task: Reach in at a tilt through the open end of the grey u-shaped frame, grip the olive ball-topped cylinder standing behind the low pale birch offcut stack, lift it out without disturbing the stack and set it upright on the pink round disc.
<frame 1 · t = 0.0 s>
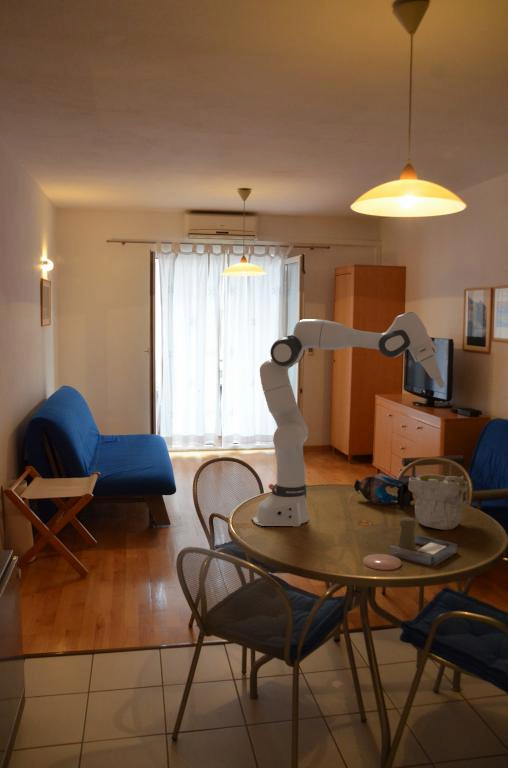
hand: (442, 386, 237), 54 cm above the table, tool tilted 30°, fingers open, 8 cm apart
offcut stack: (431, 557, 218), on the table
ceramic vessel: (440, 523, 253), on the table
grey u-shaped frame: (431, 555, 218), on the table
lantern: (382, 503, 280), on the table
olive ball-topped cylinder: (406, 550, 224), on the table
pink round disc: (382, 563, 212), on the table
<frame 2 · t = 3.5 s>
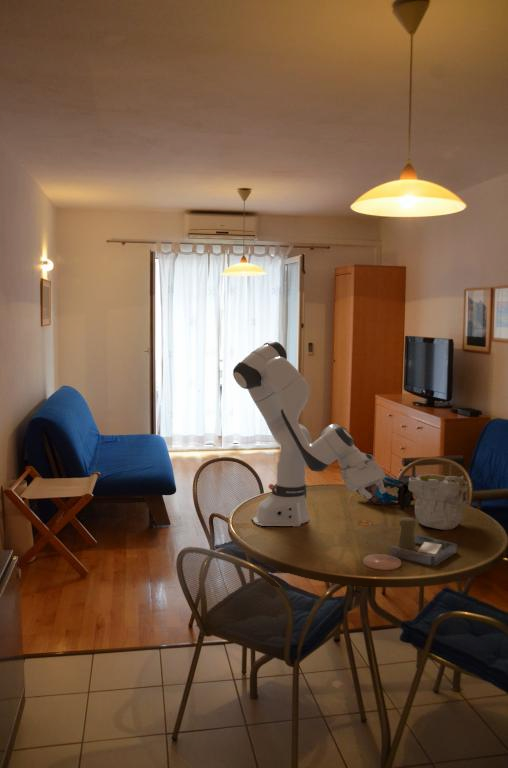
hand: (377, 495, 230), 17 cm above the table, tool tilted 45°, fingers open, 8 cm apart
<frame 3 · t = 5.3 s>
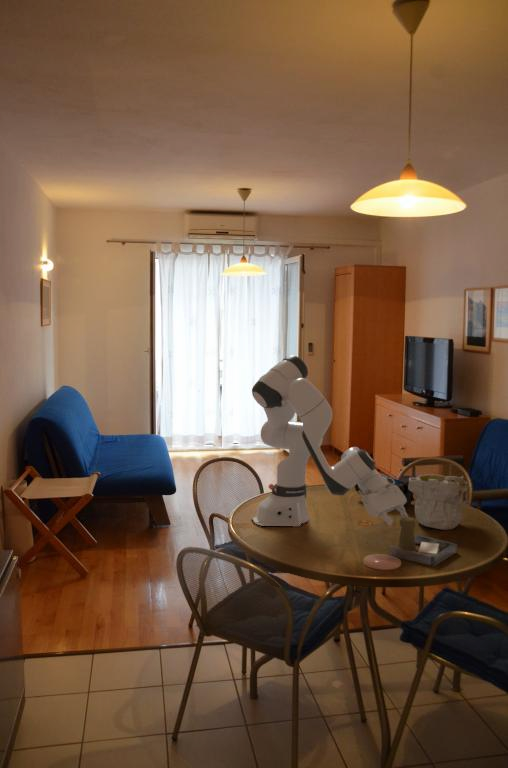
hand: (399, 520, 224), 10 cm above the table, tool tilted 45°, fingers open, 8 cm apart
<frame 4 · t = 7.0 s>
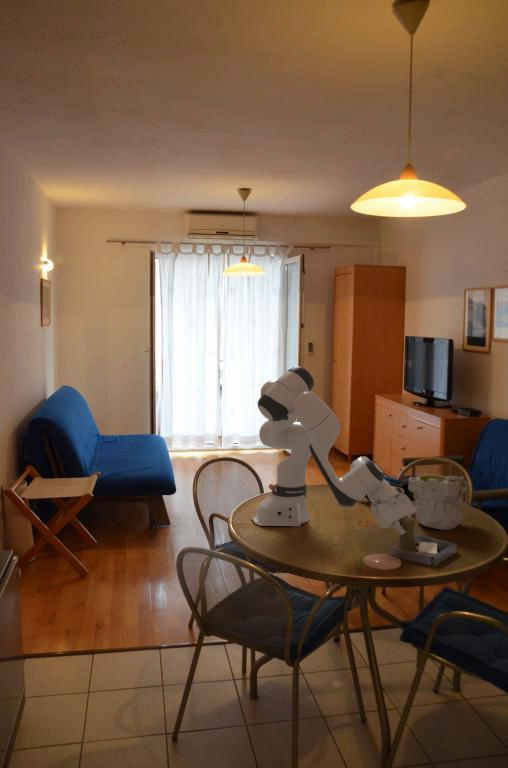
hand: (408, 531, 223), 7 cm above the table, tool tilted 45°, fingers closed on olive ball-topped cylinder, 5 cm apart
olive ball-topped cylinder: (406, 550, 224), on the table, touching gripper
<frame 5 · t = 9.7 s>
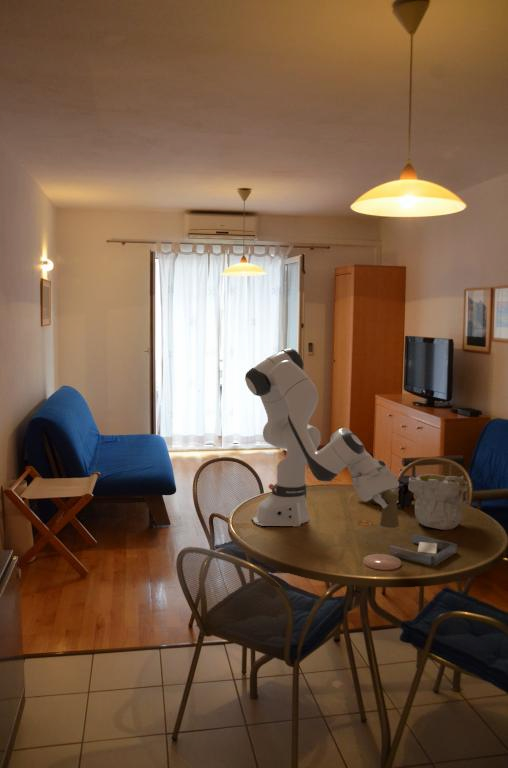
hand: (391, 505, 212), 18 cm above the table, tool tilted 45°, fingers closed on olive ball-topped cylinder, 5 cm apart
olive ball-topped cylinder: (389, 525, 213), point 12 cm above the table, touching gripper
when the fingers open (9 cm above the table, at t = 12.3 s): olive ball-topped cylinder drops 1 cm, resting on pink round disc.
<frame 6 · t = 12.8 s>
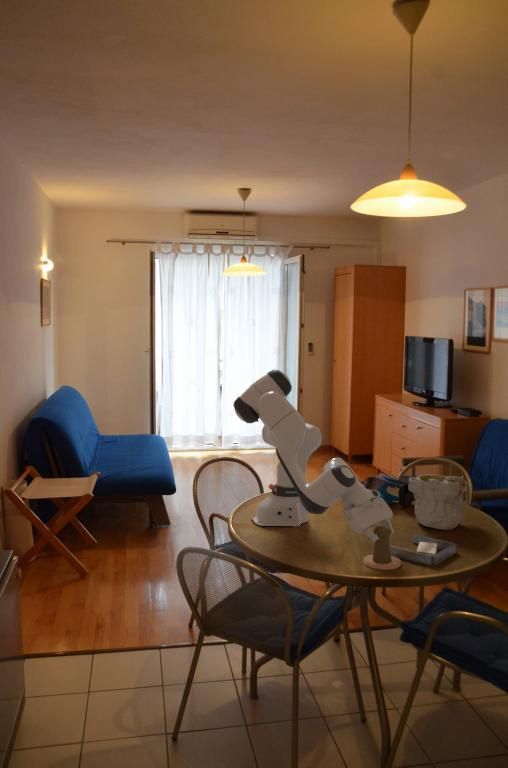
hand: (384, 536, 210), 9 cm above the table, tool tilted 45°, fingers open, 8 cm apart
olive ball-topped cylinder: (382, 560, 212), point 1 cm above the table, touching pink round disc
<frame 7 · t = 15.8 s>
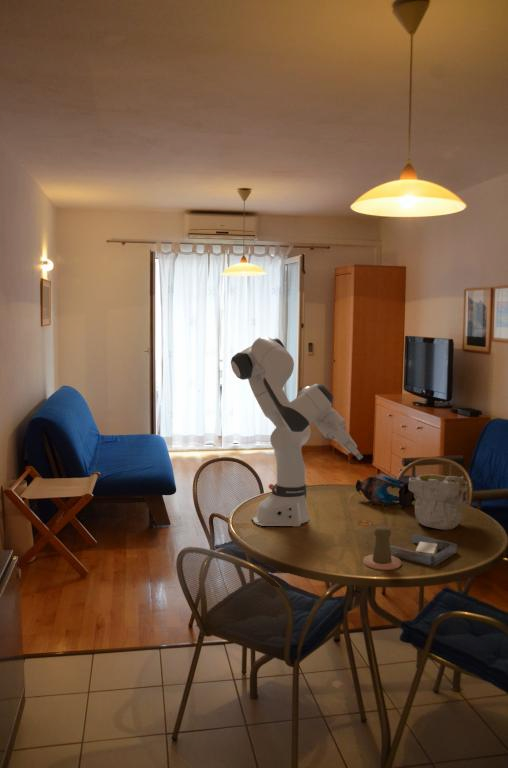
hand: (359, 456, 218), 33 cm above the table, tool tilted 50°, fingers open, 8 cm apart
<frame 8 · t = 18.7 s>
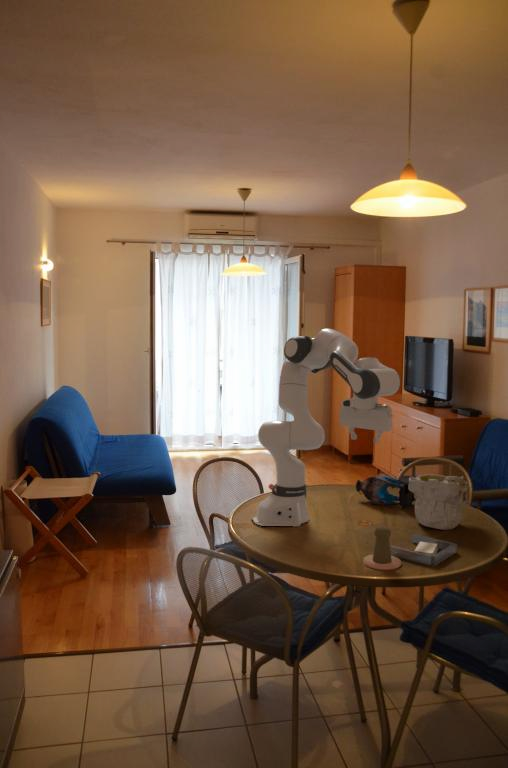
hand: (365, 440, 234), 35 cm above the table, tool pointing down, fingers open, 8 cm apart
at the end: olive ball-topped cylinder inside the target area on the pink round disc (0.1 cm from its centre), point 0.6 cm above the pink round disc's base; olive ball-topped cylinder tilted 0°; offcut stack moved 1.9 cm from its start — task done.
